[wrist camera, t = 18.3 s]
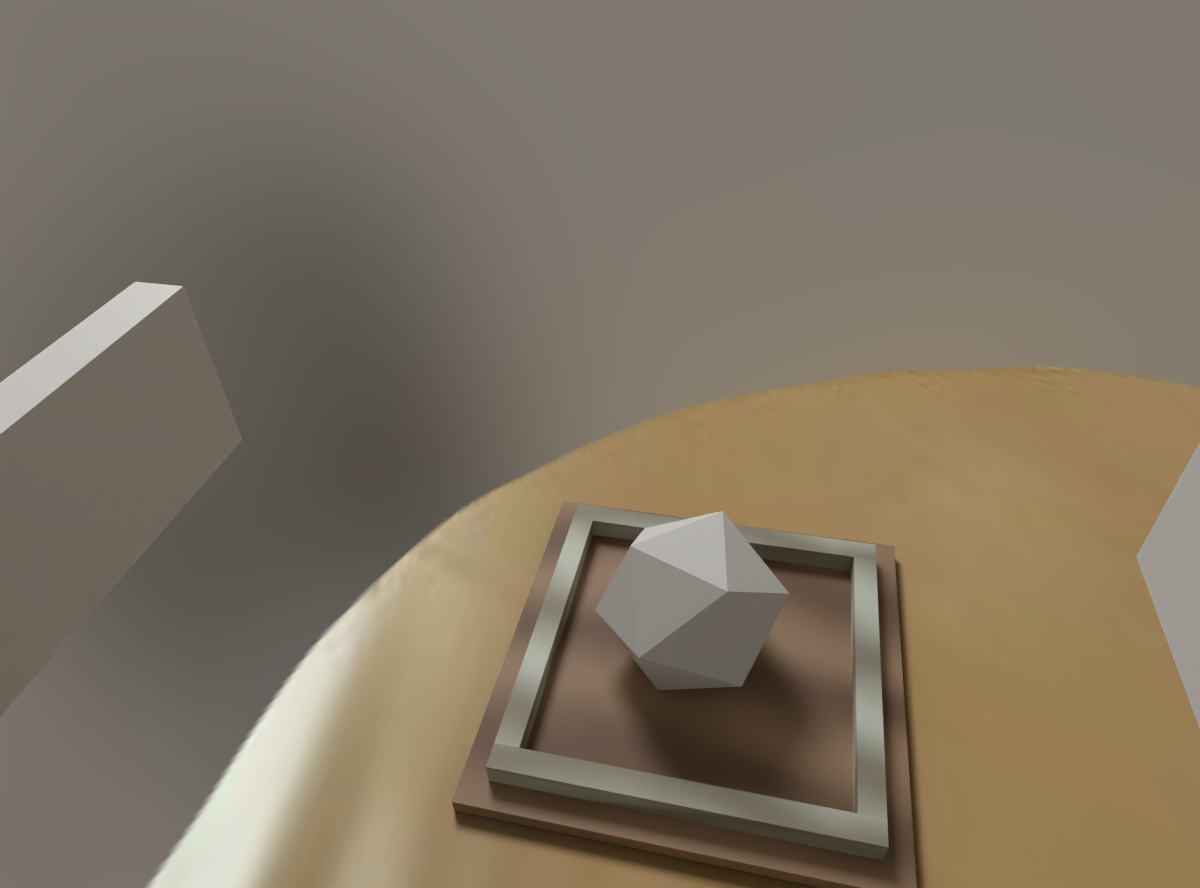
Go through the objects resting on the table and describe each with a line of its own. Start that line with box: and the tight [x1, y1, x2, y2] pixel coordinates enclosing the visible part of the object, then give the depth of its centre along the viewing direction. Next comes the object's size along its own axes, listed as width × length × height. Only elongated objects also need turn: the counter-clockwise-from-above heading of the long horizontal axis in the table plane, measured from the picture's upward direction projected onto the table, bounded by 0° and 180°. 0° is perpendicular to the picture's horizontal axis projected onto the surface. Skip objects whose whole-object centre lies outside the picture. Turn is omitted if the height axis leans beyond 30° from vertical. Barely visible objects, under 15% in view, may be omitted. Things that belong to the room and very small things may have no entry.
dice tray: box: [452, 502, 917, 888], centre depth 43 cm, size 20×20×2 cm
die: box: [595, 511, 789, 690], centre depth 41 cm, size 8×9×10 cm
